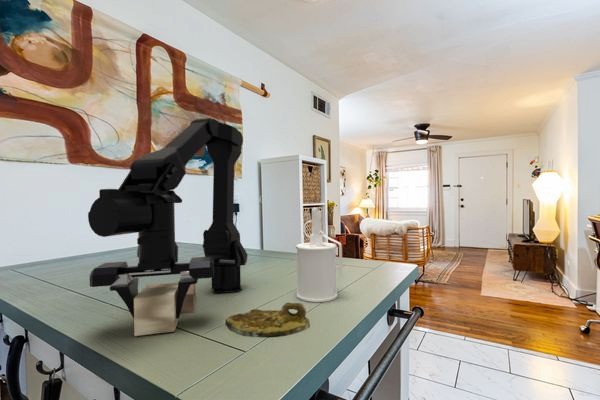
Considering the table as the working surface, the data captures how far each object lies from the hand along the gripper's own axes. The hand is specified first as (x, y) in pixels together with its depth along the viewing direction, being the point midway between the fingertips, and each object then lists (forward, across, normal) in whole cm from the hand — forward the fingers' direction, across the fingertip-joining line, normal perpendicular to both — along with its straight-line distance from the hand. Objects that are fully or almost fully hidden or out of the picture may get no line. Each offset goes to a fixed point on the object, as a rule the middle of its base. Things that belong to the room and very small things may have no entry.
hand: (158, 320), depth 52 cm
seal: (+2, -18, +4) cm, 19 cm away
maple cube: (+1, 0, 0) cm, 1 cm away
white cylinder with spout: (+2, -32, -8) cm, 33 cm away
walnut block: (+2, 0, -11) cm, 11 cm away
